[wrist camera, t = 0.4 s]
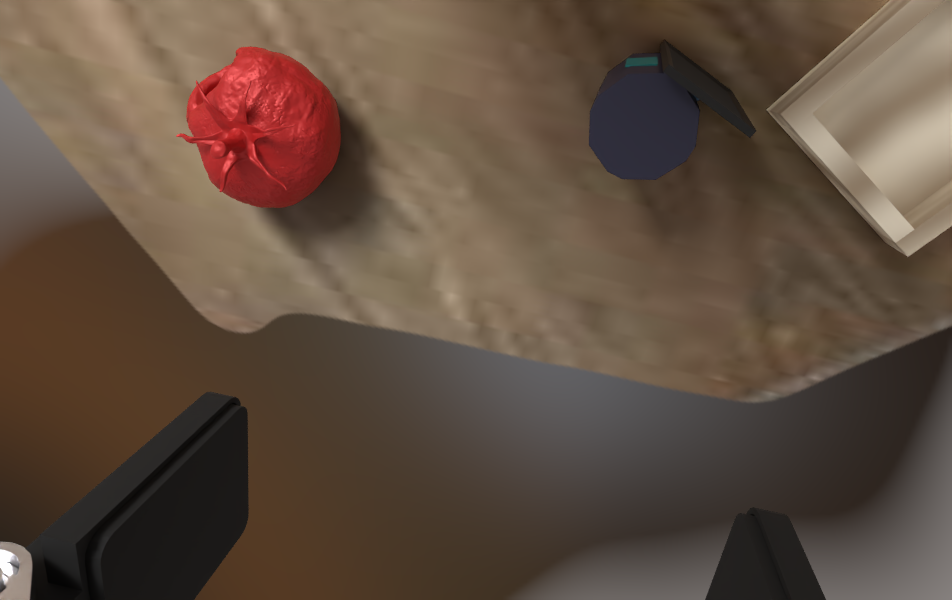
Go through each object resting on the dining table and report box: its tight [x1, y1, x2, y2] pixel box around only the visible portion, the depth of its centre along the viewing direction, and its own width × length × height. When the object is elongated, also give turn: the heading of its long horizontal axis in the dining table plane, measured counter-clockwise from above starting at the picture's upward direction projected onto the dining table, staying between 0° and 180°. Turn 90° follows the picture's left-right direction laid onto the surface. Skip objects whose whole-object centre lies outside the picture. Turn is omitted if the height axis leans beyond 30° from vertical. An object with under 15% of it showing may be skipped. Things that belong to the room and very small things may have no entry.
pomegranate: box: [177, 47, 341, 208], centre depth 39 cm, size 10×10×9 cm
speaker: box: [589, 40, 756, 180], centre depth 34 cm, size 8×6×10 cm
